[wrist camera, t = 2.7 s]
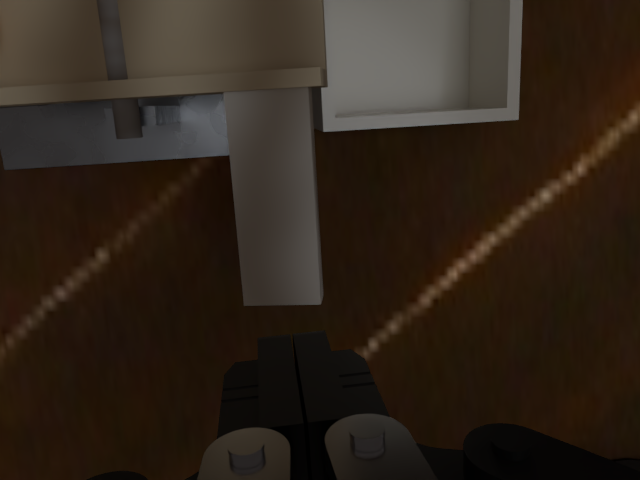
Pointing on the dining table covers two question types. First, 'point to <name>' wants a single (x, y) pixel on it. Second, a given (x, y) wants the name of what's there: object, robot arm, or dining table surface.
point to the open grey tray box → (419, 63)
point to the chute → (198, 79)
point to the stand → (112, 132)
